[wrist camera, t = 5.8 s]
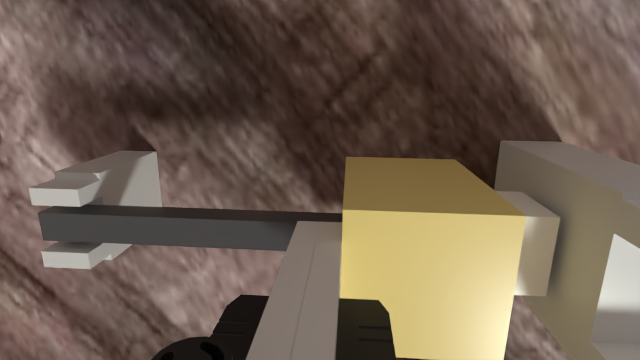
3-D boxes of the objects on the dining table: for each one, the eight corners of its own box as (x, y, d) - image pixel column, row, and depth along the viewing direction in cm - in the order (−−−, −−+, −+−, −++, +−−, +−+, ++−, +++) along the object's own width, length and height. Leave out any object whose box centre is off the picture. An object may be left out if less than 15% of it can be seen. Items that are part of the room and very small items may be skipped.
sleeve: (343, 250, 19) (338, 353, 12) (346, 156, 18) (342, 209, 11) (445, 255, 19) (502, 364, 12) (455, 159, 18) (526, 215, 10)
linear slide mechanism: (131, 235, 22) (-54, 369, 12) (118, 132, 21) (-108, 186, 10) (543, 252, 21) (732, 425, 10) (562, 141, 19) (808, 217, 9)
